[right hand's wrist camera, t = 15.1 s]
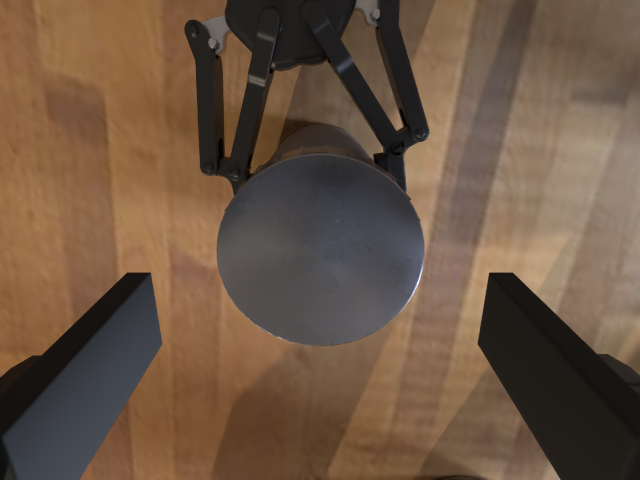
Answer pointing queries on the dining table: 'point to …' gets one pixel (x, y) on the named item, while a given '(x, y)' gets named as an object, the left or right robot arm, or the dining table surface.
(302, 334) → the lid
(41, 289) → the dining table surface
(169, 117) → the dining table surface
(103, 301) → the right robot arm
